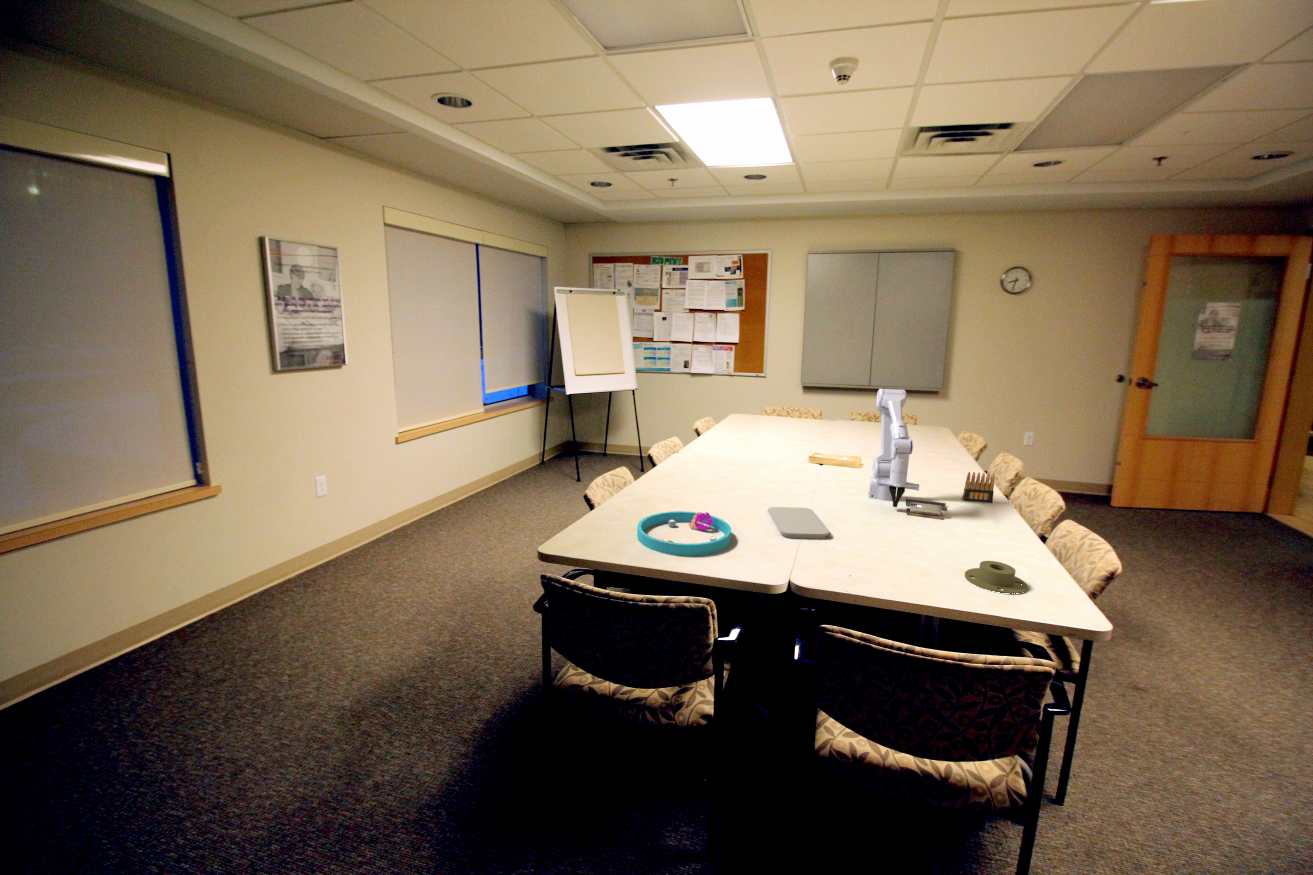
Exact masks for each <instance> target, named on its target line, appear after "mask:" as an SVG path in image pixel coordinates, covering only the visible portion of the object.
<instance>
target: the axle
mask: <svg viewBox="0 0 1313 875" xmlns="http://www.w3.org/2000/svg"><path fill="white" fill-rule="evenodd" d="M909 508H910V513H915V514H923V515H930V516H938V517H940V516H941V512H942V511H941V506H940V505H932V504H924V503H916V502H911V503H910V507H909Z"/></svg>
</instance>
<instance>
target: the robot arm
mask: <svg viewBox="0 0 1313 875" xmlns="http://www.w3.org/2000/svg"><path fill="white" fill-rule="evenodd" d="M906 401H907V392H906V390H905V389H904V388H903V389H895V388H894V389H889V388H879V389H878V390H877V393H876V411H878V412H880V417H881V420H880V421H881V422H880V423H881V424H880V427H881V428H880V430H881V431H880V432H881V433H880V435H881V436H880V437H881V438H880V440H881V441H880V453H879V454H878V455H877V456H875V457H874V459H873V460H872V470H871V472H872V475H873V476H870V482H869V490H868V491H867V495H868V499H873V500H879V501H886V502H887V501H888V502H890V501H891V502H892V507H893V508H898V504H899V501H900V499H901V498H902V497H903V495H904V494H905V492H906V490H915V491H917V492H919V490H920V484H918V483H913V482H909V481H907V479H908V478H907V477H908V468H909V461H910V455H912V453H913V451H914V443H913V442H914V441H913V439H912V438H911V436H909V431H908V425H907V423H906V422H905V421H904V420H903V408H904V406H905V404H906Z"/></svg>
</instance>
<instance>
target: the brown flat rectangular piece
mask: <svg viewBox="0 0 1313 875" xmlns="http://www.w3.org/2000/svg"><path fill="white" fill-rule="evenodd" d="M905 510H906V516H910V517H911V516H912V517H918V518H924V519H926V518H927V519H932V520H941V521H945V520H944V519H945V517H944V515H943V511H941V516H940V517H938V516H930V515H923V514H915V513H910V507H906V509H905Z"/></svg>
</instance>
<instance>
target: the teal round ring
mask: <svg viewBox="0 0 1313 875" xmlns="http://www.w3.org/2000/svg"><path fill="white" fill-rule="evenodd" d="M681 522H682V523H688V527H689V528H690V529H691V530H695V531H697V530H700V531H702V530H703V531H706V530H707V529H709V528H710V527H712V528H713V529H716V530H718V531H720V532H721V533H722V534H724V535H723V536H722V537H719V538H717V536H714V535H713V536H709V537H708V539H709V541H706V542H705V541H704V542H699V543H697V542H696V543H683V542H680V543H679V542H674V541H672V540H670V539H668V540H667V541H666V540H664V538H663V537H661V538H656V537H653V536H651V535H648V534H647V533H646V532H644V531H646V530H647V529H648V528H650V527H653V526H656V525H660V524H667V526H669V527H671V528H674V527H676V524H677V523H681ZM636 527H637V531H636V533H637V534H636V536H637V539H638V542H639V543H641V545H642V546H644V547H645V548H647V549H649V550H651V551H655V552H657V553H659V554H660V553H662V554H666V555H670V556H680V557H681V556H683V557H692V556H693V557H694V556H695V557H699V556H706V555H712V554H715V553H718V552H721V551H723V550H724V549H726V548H728V546H729V545H730V544H731V540H732V537H731V536H732V535H731V534H732V527H731V526H730V524H729V523H727V522H726V521H725V520H723V519H722V518H718V517H717V516H714V515H710V513H709V512H701V511H699V512H696V511H682V510H681V511H676V510H675V511H665V512H658V513H654V514H650V515H648V516H645V517H643V518H642V519H640V520H639V521H638V523H637V526H636Z"/></svg>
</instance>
